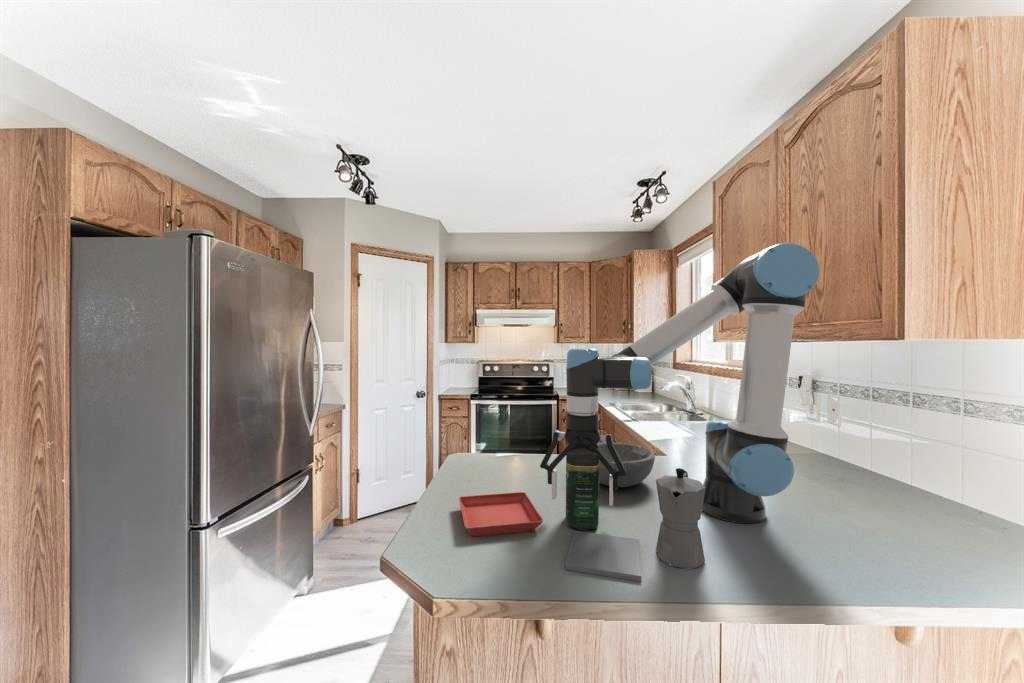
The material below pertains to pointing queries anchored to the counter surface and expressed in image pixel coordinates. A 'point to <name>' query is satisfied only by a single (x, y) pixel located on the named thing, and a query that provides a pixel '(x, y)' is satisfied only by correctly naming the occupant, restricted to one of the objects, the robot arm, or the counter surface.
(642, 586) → the counter surface
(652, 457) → the bowl
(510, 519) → the plant saucer
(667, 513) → the coffeepot
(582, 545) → the plate
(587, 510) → the coffee jar
